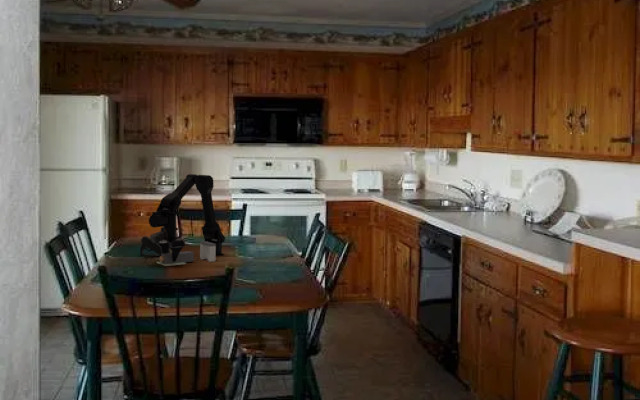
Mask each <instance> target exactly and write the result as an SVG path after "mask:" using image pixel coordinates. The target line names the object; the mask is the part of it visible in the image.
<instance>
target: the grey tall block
mask: <svg viewBox="0 0 640 400" xmlns="http://www.w3.org/2000/svg"><path fill="white" fill-rule="evenodd" d="M194 255H195V253H194V252H193V251H190V250H189V251H180V253H179V255H178V257H177V259H176V261H175V262H173V260H172V252H170V253H164V254H161V256H160V255H159V262H161V263H164V264H171V263H181V262H184V263H189V262H190V263H191V262H194V259H195V257H194Z"/></svg>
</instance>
